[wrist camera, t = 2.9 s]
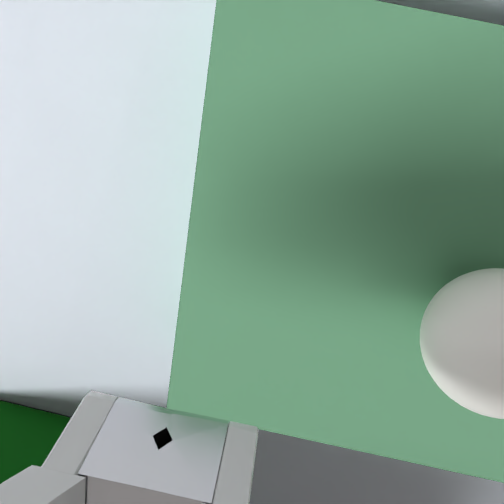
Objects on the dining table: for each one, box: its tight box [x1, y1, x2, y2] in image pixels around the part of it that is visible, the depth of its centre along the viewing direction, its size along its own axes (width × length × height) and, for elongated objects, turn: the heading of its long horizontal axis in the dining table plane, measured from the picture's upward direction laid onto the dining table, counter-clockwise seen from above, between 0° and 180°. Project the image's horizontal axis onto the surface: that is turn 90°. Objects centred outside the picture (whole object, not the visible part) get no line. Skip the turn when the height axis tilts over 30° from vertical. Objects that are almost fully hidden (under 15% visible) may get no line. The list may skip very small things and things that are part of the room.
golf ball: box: [420, 268, 504, 419], centre depth 11 cm, size 4×4×4 cm
